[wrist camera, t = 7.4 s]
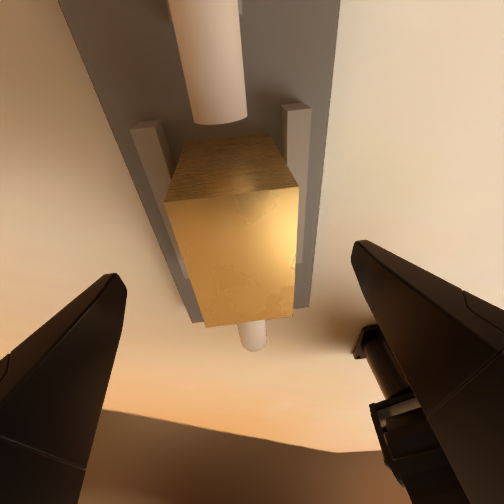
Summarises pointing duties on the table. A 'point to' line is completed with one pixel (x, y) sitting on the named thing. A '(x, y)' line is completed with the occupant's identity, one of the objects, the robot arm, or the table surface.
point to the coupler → (236, 227)
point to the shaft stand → (213, 98)
